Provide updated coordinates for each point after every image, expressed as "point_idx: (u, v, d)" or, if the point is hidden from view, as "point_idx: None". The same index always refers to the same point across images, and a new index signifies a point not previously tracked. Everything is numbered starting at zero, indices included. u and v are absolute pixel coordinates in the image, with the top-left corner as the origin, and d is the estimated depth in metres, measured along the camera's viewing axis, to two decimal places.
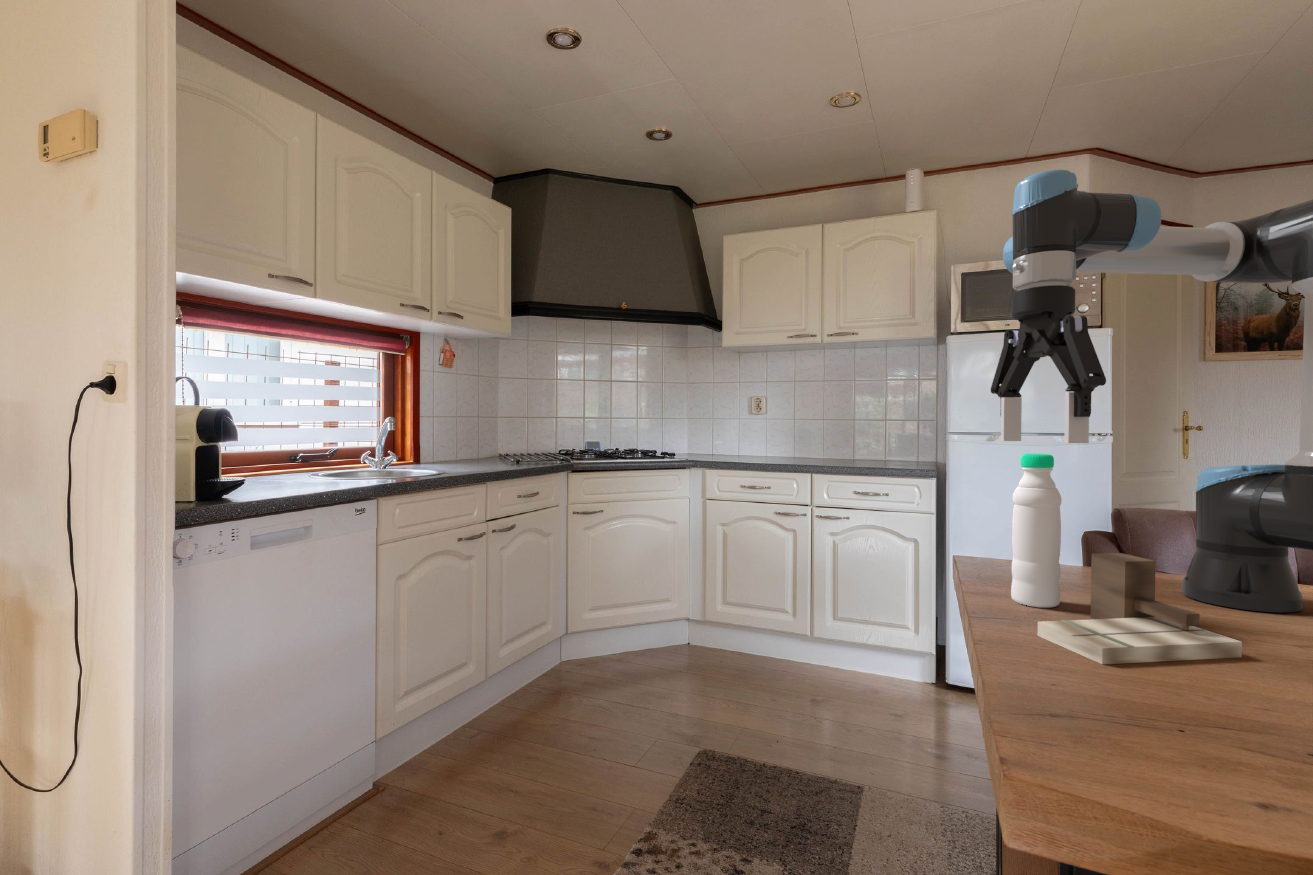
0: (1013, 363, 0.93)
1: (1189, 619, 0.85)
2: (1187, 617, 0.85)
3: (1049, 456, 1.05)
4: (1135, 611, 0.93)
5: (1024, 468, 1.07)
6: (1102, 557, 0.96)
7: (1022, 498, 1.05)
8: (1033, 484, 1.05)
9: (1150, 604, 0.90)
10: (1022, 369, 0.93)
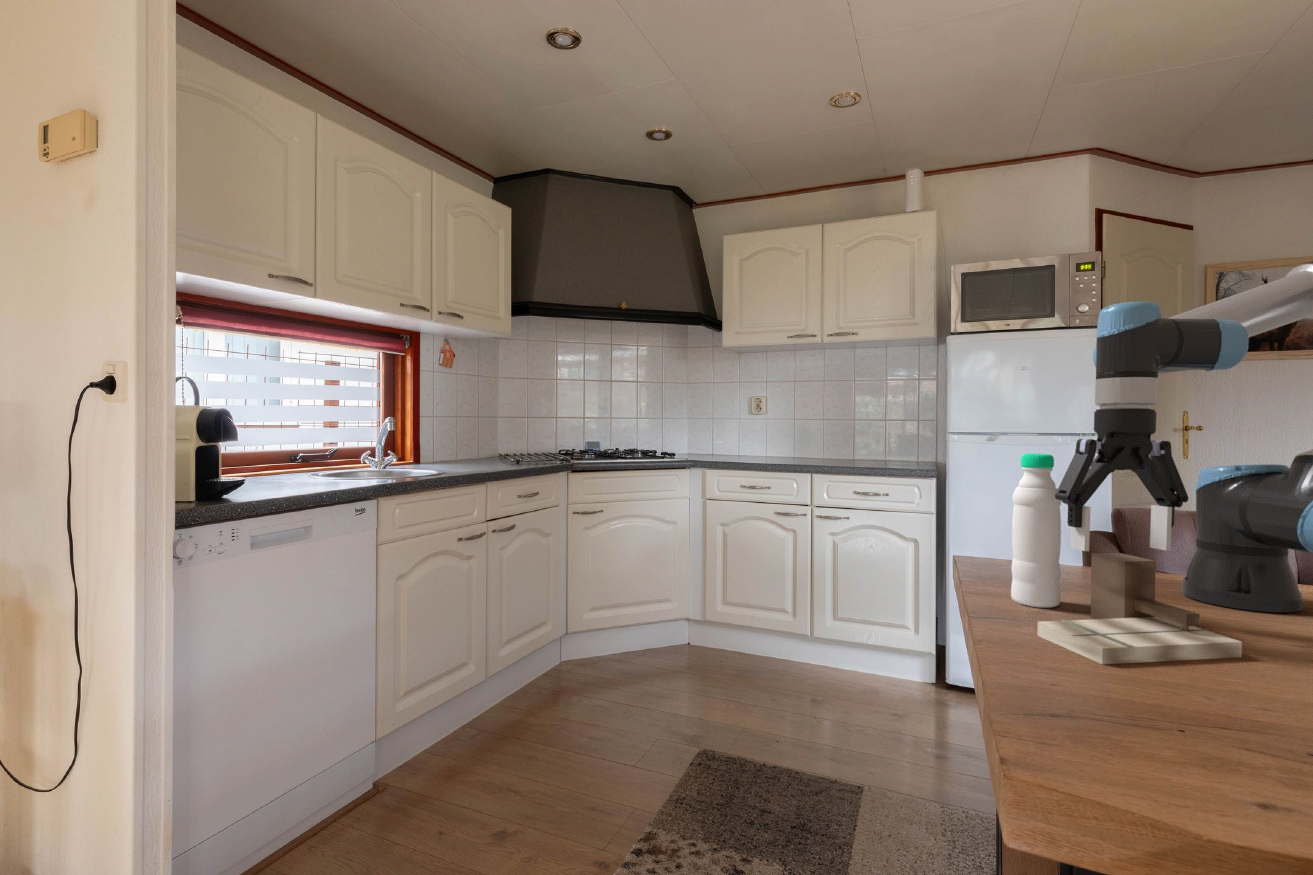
0: None
1: (1189, 619, 0.85)
2: (1187, 617, 0.85)
3: (1049, 456, 1.05)
4: (1135, 611, 0.93)
5: (1024, 468, 1.06)
6: (1102, 557, 0.96)
7: (1022, 498, 1.05)
8: (1033, 484, 1.05)
9: (1150, 604, 0.90)
10: (1146, 479, 0.96)
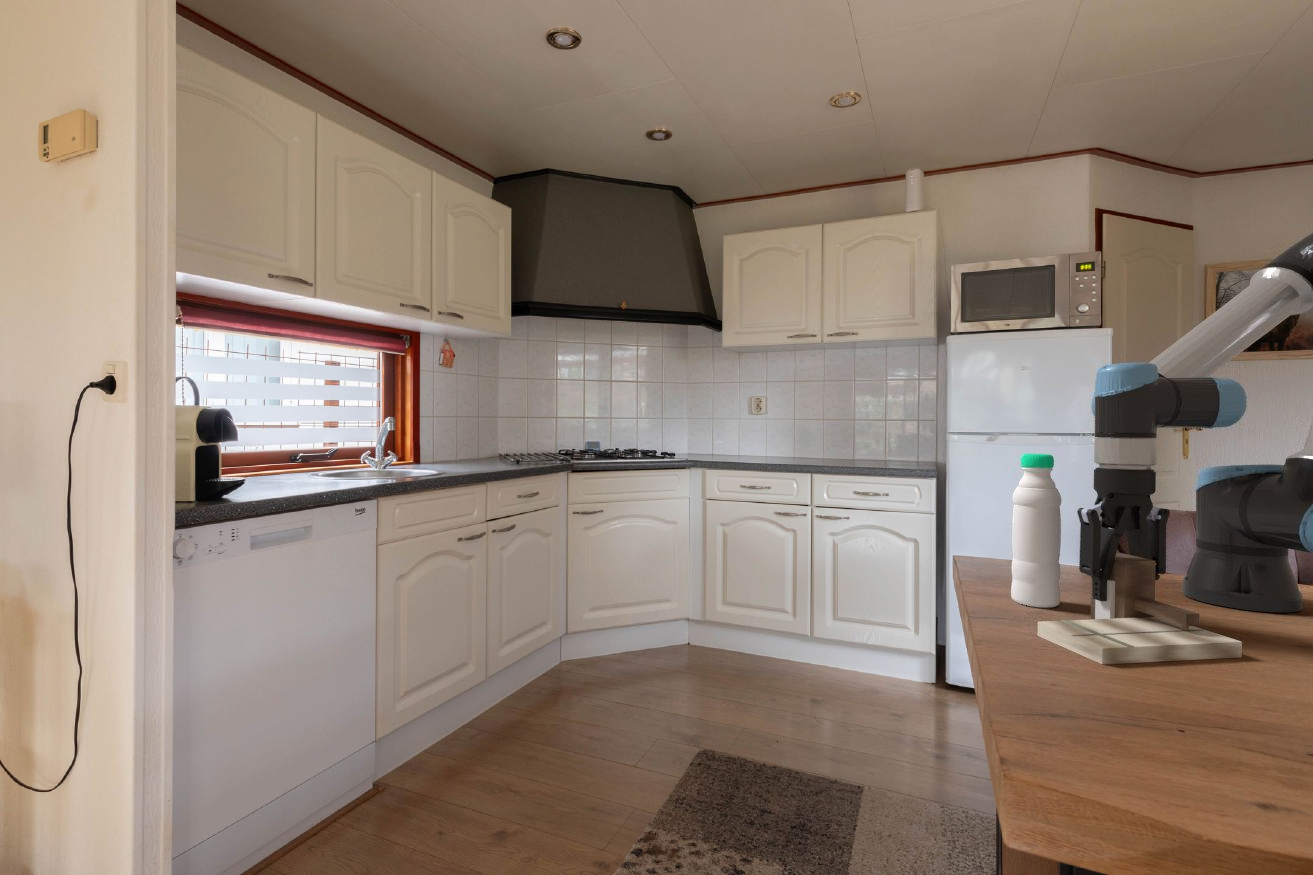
0: None
1: (1189, 619, 0.85)
2: (1187, 617, 0.85)
3: (1049, 456, 1.05)
4: (1135, 610, 0.93)
5: (1024, 468, 1.07)
6: None
7: (1022, 498, 1.05)
8: (1033, 484, 1.05)
9: (1150, 604, 0.90)
10: (1134, 543, 0.96)
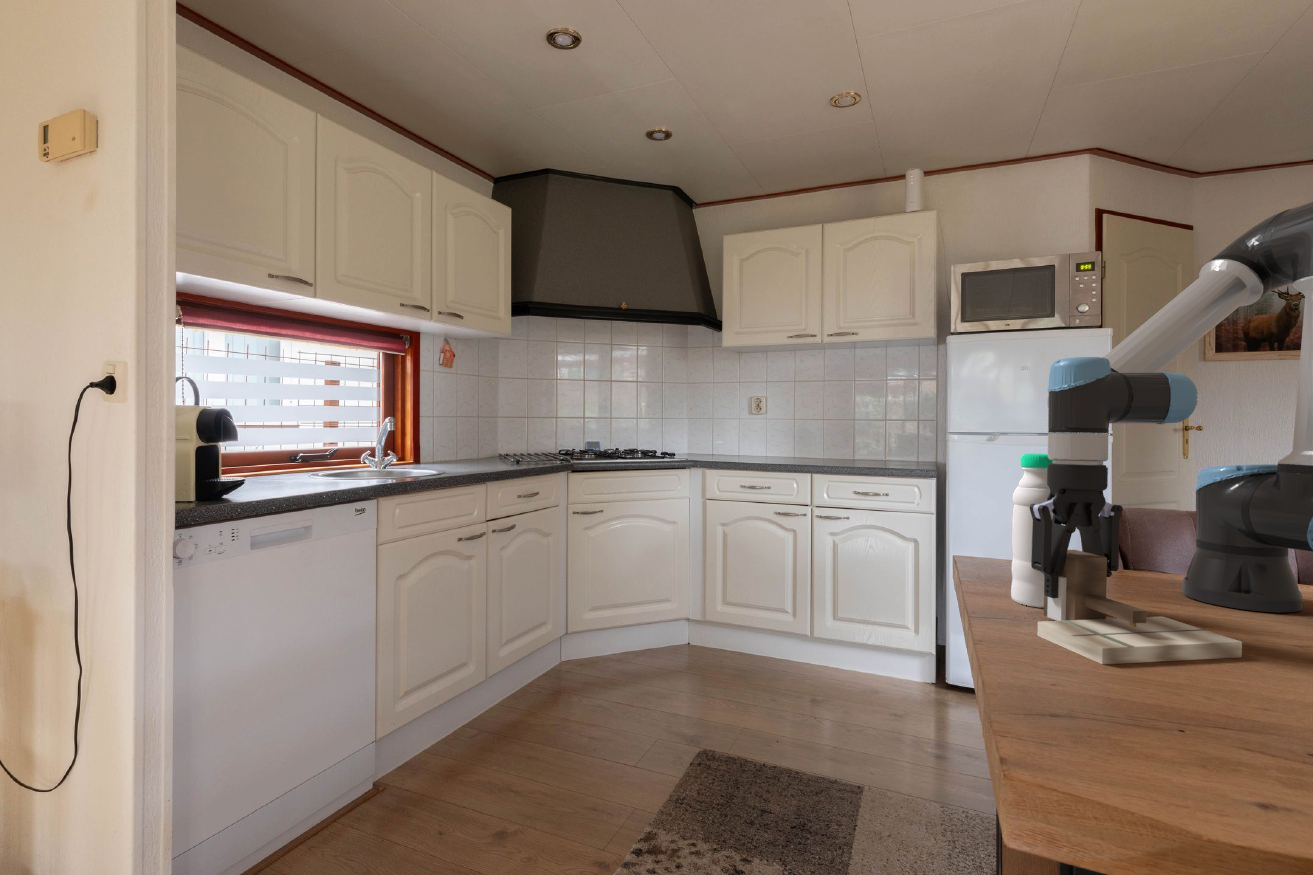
0: None
1: (1136, 616, 0.84)
2: (1134, 614, 0.84)
3: None
4: (1085, 608, 0.92)
5: (1024, 468, 1.07)
6: None
7: (1022, 498, 1.05)
8: (1033, 484, 1.05)
9: (1099, 601, 0.89)
10: (1087, 540, 0.95)
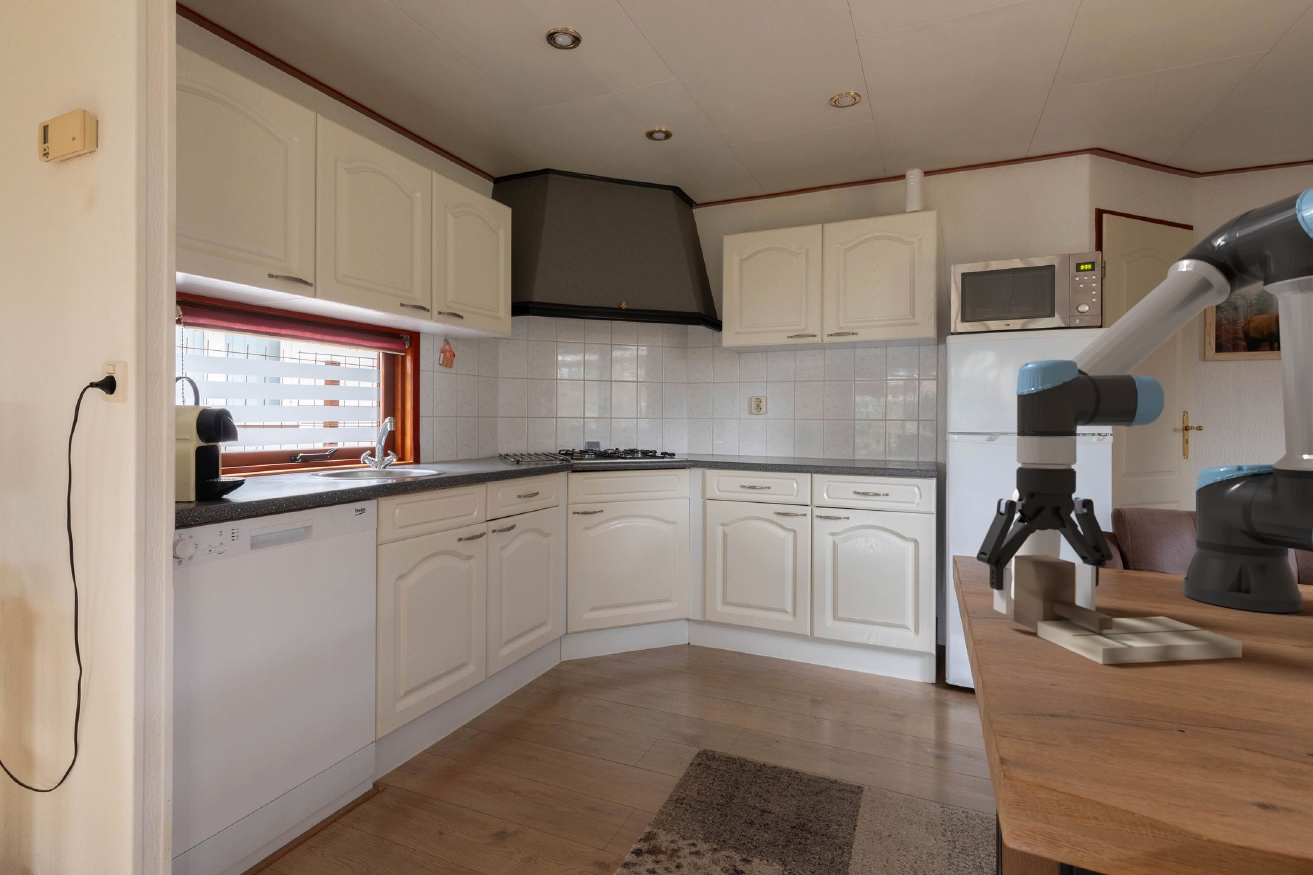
0: None
1: (1102, 623, 0.83)
2: (1100, 620, 0.83)
3: None
4: (1054, 614, 0.91)
5: None
6: (1024, 559, 0.95)
7: None
8: None
9: (1067, 607, 0.88)
10: (1070, 538, 0.95)
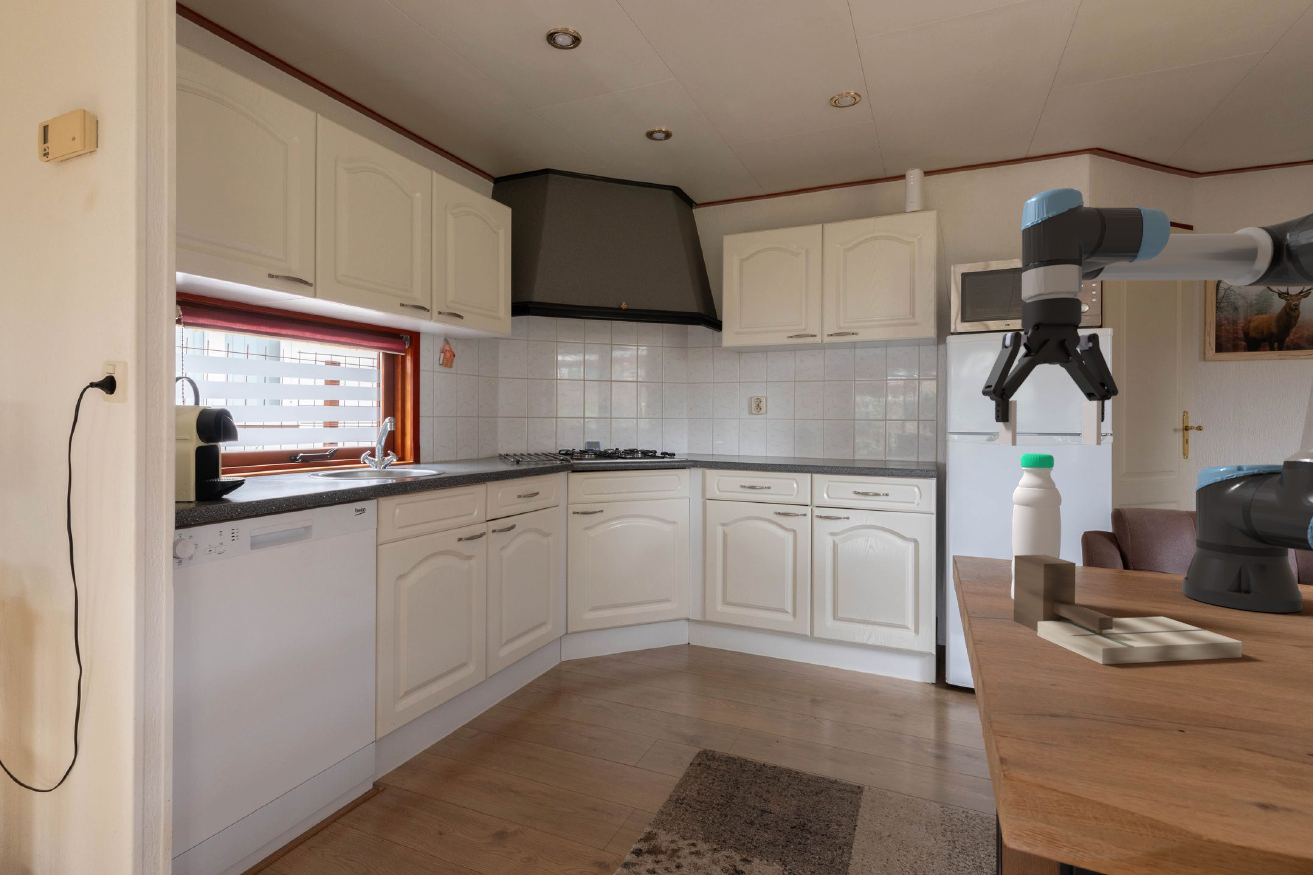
0: None
1: (1102, 623, 0.83)
2: (1100, 620, 0.83)
3: (1049, 456, 1.05)
4: (1054, 614, 0.91)
5: (1024, 468, 1.06)
6: (1024, 559, 0.95)
7: (1022, 498, 1.05)
8: (1033, 484, 1.05)
9: (1067, 607, 0.88)
10: (1075, 374, 0.94)
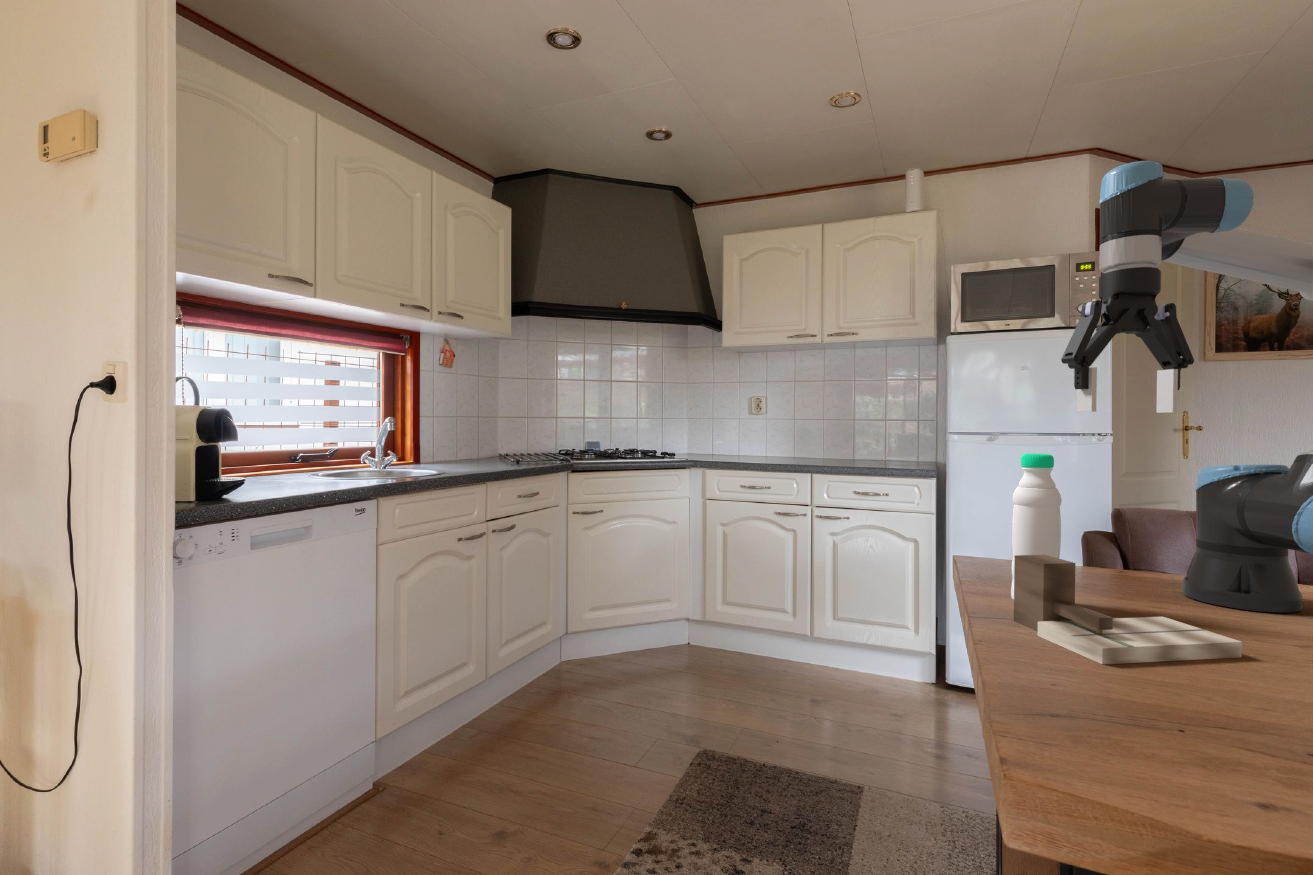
0: None
1: (1102, 623, 0.83)
2: (1100, 621, 0.83)
3: (1049, 456, 1.05)
4: (1054, 614, 0.91)
5: (1024, 468, 1.07)
6: (1024, 559, 0.95)
7: (1022, 498, 1.05)
8: (1033, 484, 1.05)
9: (1067, 607, 0.88)
10: (1152, 343, 0.97)
